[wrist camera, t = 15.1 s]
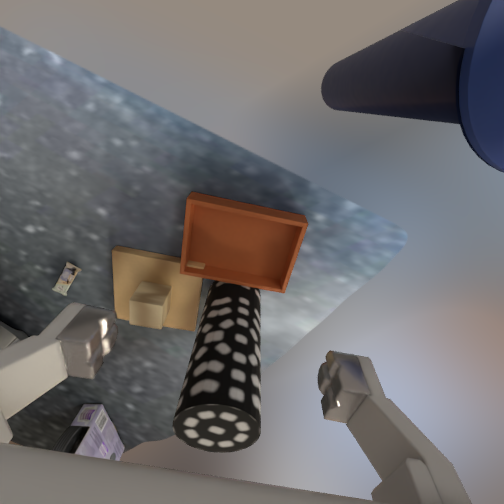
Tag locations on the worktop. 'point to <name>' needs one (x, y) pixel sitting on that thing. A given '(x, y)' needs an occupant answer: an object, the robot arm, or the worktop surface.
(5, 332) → the toaster
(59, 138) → the worktop surface
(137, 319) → the block
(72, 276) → the granola bar
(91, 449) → the cake pan box
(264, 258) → the orange-brown tray
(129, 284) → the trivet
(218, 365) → the white-spotted black cylinder
